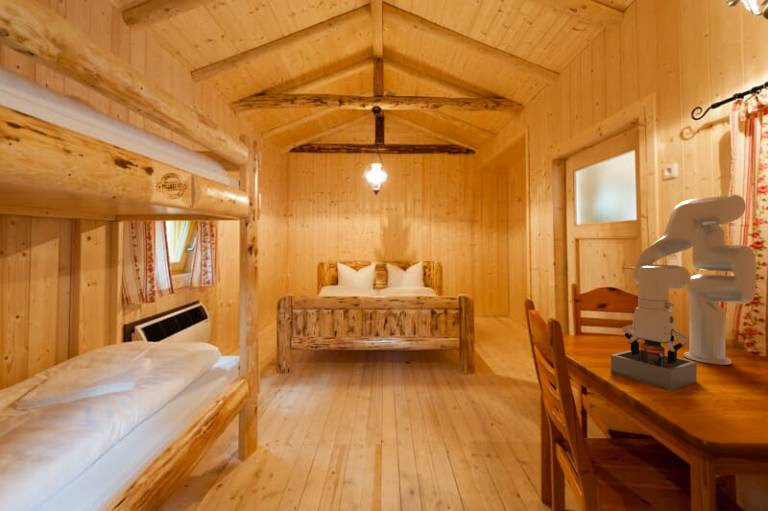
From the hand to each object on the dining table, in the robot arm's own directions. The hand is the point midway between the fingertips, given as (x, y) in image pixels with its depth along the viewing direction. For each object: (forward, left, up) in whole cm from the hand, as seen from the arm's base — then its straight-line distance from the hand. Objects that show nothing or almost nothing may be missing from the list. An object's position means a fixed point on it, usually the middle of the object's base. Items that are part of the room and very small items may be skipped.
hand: (652, 358), depth 105 cm
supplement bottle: (0, 0, -5) cm, 5 cm away
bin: (0, 0, -6) cm, 6 cm away
